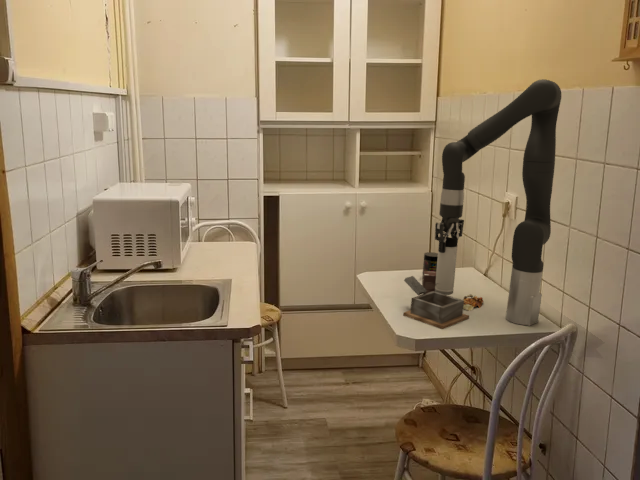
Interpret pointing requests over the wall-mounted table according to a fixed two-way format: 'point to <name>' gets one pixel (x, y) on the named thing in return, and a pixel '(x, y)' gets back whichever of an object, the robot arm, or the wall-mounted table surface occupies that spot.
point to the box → (429, 281)
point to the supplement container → (430, 262)
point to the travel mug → (446, 267)
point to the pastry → (472, 302)
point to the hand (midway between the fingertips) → (447, 250)
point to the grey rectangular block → (415, 285)
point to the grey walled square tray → (437, 310)
